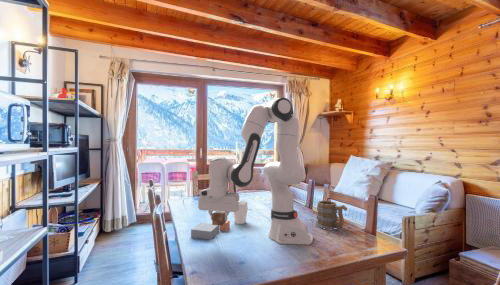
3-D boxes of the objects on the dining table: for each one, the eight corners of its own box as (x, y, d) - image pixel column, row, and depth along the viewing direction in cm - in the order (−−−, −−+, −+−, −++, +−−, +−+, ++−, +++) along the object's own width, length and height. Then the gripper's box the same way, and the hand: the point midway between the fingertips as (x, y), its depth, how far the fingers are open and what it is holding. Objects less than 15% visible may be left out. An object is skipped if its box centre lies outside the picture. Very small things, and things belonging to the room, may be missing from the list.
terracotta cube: (229, 228, 135) (229, 220, 135) (226, 231, 131) (226, 223, 131) (222, 227, 136) (222, 220, 136) (219, 230, 132) (219, 222, 132)
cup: (239, 219, 152) (239, 200, 152) (250, 221, 147) (250, 202, 147) (229, 222, 145) (230, 203, 145) (241, 225, 139) (241, 205, 139)
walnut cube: (225, 221, 115) (225, 211, 115) (222, 225, 110) (221, 214, 110) (216, 221, 116) (216, 211, 116) (212, 224, 112) (212, 214, 112)
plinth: (219, 231, 129) (219, 224, 129) (210, 239, 119) (210, 231, 119) (200, 229, 132) (200, 222, 132) (191, 237, 122) (191, 229, 122)
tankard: (311, 224, 143) (311, 199, 143) (326, 221, 148) (326, 197, 149) (337, 235, 125) (337, 207, 125) (353, 232, 131) (353, 204, 131)
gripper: (241, 190, 114) (241, 219, 114) (202, 189, 119) (202, 216, 119) (237, 193, 108) (237, 223, 108) (196, 191, 113) (197, 220, 113)
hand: (219, 219), depth 113 cm, fingers closed on walnut cube, 5 cm apart
